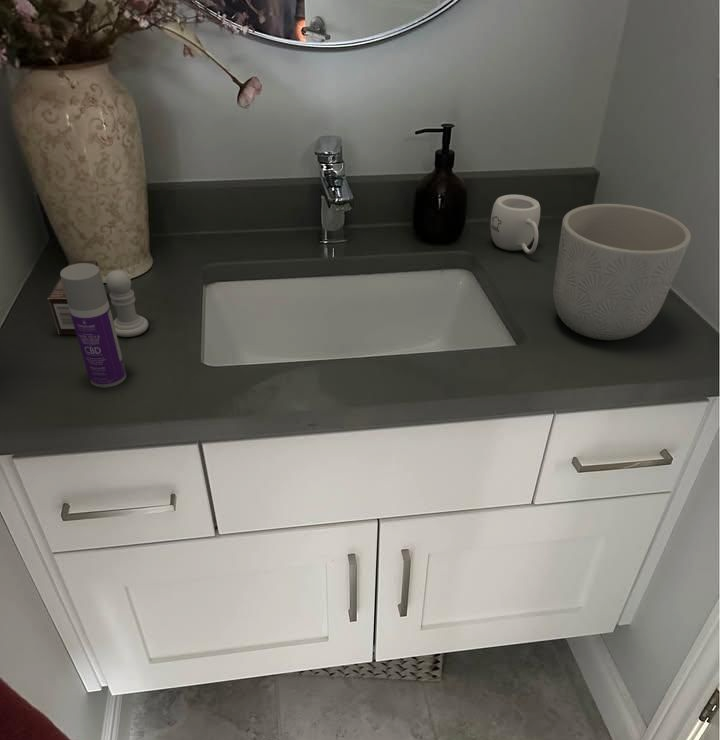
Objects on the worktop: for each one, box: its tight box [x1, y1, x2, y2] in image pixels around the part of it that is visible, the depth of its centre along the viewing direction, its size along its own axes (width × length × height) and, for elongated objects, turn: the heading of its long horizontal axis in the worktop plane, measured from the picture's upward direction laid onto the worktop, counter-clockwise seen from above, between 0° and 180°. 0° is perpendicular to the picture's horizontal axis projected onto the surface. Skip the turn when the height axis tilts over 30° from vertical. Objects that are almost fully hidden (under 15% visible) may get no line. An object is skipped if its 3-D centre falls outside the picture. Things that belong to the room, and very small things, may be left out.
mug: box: [489, 194, 541, 255], centre depth 122 cm, size 12×8×8 cm
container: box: [59, 263, 127, 389], centre depth 87 cm, size 5×5×15 cm
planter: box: [552, 203, 692, 341], centre depth 100 cm, size 17×17×15 cm
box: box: [47, 260, 99, 336], centre depth 102 cm, size 6×4×12 cm
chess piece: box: [105, 269, 149, 338], centre depth 98 cm, size 5×5×9 cm
